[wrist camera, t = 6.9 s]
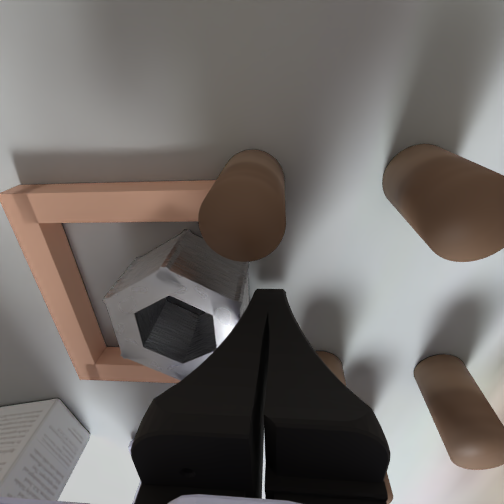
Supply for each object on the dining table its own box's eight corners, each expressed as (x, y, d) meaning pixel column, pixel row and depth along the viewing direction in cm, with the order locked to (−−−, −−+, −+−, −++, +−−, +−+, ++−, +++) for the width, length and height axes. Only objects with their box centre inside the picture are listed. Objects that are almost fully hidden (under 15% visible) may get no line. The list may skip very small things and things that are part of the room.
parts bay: (243, 366, 17) (240, 385, 16) (91, 361, 18) (79, 379, 17) (227, 179, 12) (221, 189, 11) (19, 184, 13) (-4, 194, 12)
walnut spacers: (571, 441, 18) (641, 529, 14) (244, 424, 20) (236, 500, 16) (919, -36, 8) (1409, -123, 5) (206, 17, 10) (165, -17, 6)
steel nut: (252, 335, 16) (247, 386, 13) (152, 332, 16) (128, 381, 14) (247, 229, 13) (239, 267, 11) (127, 229, 14) (90, 265, 11)
